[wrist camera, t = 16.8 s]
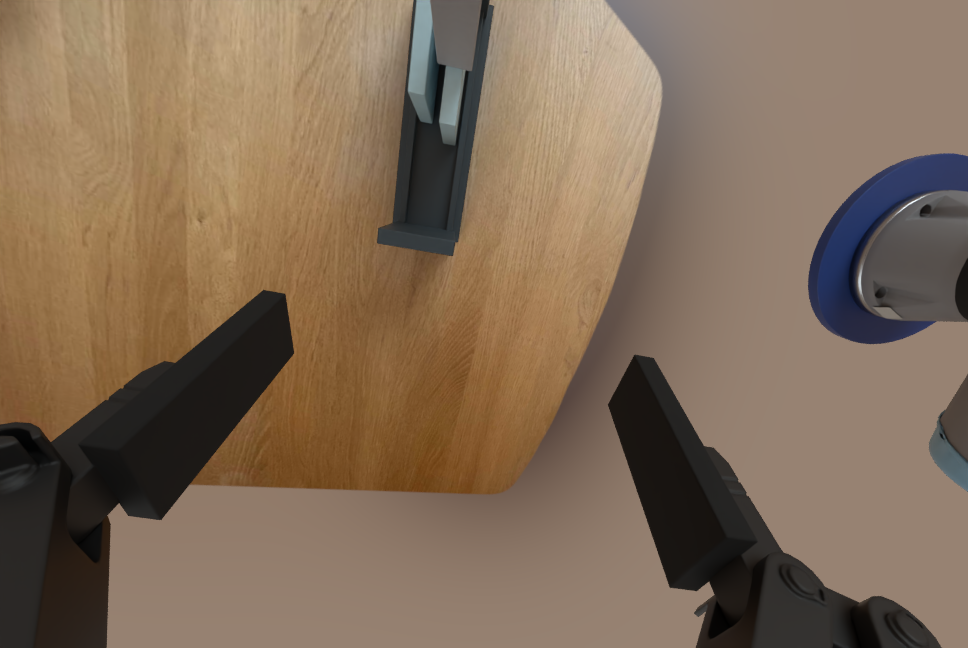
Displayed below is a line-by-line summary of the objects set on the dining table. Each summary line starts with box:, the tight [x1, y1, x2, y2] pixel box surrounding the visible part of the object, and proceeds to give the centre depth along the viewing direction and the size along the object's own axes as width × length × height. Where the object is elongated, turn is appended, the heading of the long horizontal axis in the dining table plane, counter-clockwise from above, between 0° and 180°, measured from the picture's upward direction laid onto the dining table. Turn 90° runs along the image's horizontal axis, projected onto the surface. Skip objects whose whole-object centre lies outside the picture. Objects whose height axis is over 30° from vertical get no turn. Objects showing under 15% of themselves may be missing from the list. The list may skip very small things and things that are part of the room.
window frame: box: [377, 0, 494, 256], centre depth 31 cm, size 7×21×12 cm, turn 170°
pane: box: [430, 0, 482, 146], centre depth 24 cm, size 2×9×20 cm, turn 170°
